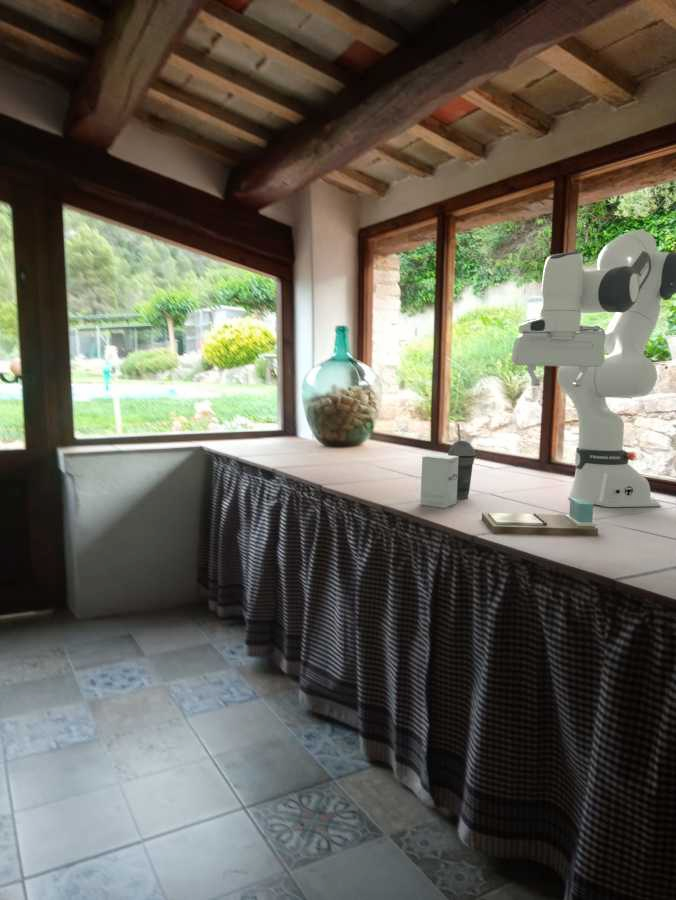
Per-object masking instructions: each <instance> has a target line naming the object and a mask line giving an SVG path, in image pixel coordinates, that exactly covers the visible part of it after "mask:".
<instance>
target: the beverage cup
mask: <svg viewBox="0 0 676 900" xmlns="http://www.w3.org/2000/svg"><path fill="white" fill-rule="evenodd" d="M456 427H457V436H458V437H457V439H458V440H457V441H455V442H453V444H451V446H450V447H449V449H448V454H447V455H451V456H459V459H458V482H457V500H467V499H468V498H469V493H470V488H471V481H472V474H473V472H472V471H473V465H474V463H475V457H476V455H475V454H476V453H475V449H474V447H473V445H472V444H471V443H470V442H468V441H466V440H461V430H460V424H459V423H458V424H457V426H456Z"/></svg>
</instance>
